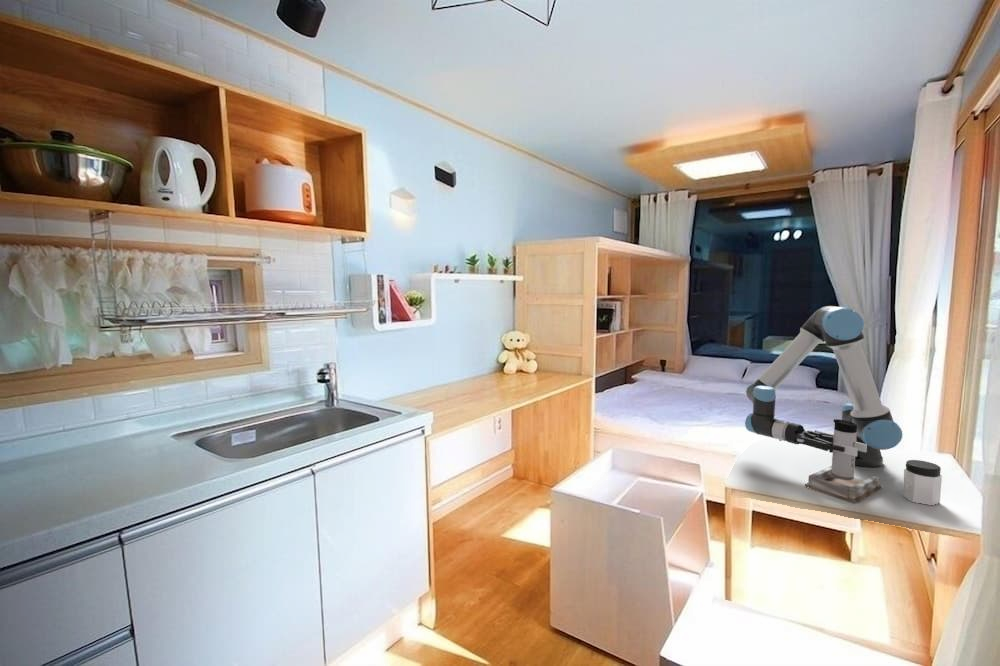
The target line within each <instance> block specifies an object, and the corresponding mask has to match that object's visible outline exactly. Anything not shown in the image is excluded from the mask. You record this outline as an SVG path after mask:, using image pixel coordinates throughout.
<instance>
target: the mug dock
mask: <svg viewBox="0 0 1000 666" xmlns="http://www.w3.org/2000/svg"><path fill="white" fill-rule="evenodd" d="M831 471H832V465H830V466H828V467H826V468H824V469H821V470H818V471H817V472H814V473H812V474H809V475H808V480H807V481H808V482H806V483H804V487H805V486H806V487H805V488H807V487H809V488H808V489H810V488H811V489H810V490H813V489H814V490H813V491H816V490H817V491H816V492H819V493H822V494H825V495H828V496H831V497H833V498H836V499H840V500H843V501H846V502H849V503H853V504H857V503H859V502H861V501H862V500H864V499H866V498H868V497H870V496H872V495H873V494H875V493H876V492H878V490H879V491H880V490H882V486H883V485H879V477H877V476H874V475H872V476H871V477H869V478H867V479H864V480H862V479H860V478H856V477H854V479H852V480H843V479H839V478H836V477H834V476H832V474H831Z"/></svg>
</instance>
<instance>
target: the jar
mask: <svg viewBox="0 0 1000 666" xmlns="http://www.w3.org/2000/svg"><path fill="white" fill-rule="evenodd" d="M942 478H943V475H942V474H941V466H940V465H938V464H936V463H933V462H930V461H924V460H920V459H909V460H907V461H906V463H905V468H904V469H903V481H902V482H903V483H902V496H903V498H905V497H906V498H905V499H907V500H909V501H910V500H911V501H910V502H912V503H914V502H916V503H915V504H919V503H922V504H921V505H924V504H928V505H927V506H929V505H933V506H936V505H939V504H940V503H941V492H942V480H943V479H942ZM938 503H939V504H938ZM935 504H936V505H935Z"/></svg>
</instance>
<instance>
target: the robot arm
mask: <svg viewBox="0 0 1000 666" xmlns="http://www.w3.org/2000/svg"><path fill="white" fill-rule="evenodd" d="M864 327H865V322H864V319H863V317H862V315H861V314H860V313H859V312H858V311H856V310H854V309H852V308H850V307H846V306H835V305H827V306H823V307H821V308H819V309H817V310H816V311H815V312H814V313H812V315H811V316H810V317H809V318H808V319H807V320H806V321H805V322H804V324H803V325H802V326H801V327H800V328H799V329H800V330H799V333H798V335H797V336H796V337H794V339H793V340H792V341H791V342H790V343H789V344H788V345H787V347H786V348H784V350H783V351H782V352H781V353H780V355H778V357H777V358H775V360H773V362H772V363H771V364H770V365H769V366H768V368H767V369H766V370H765V371H763V373H762V374H761V375H760V376H759V378H758V379H756V380H755V381H754V382H753V383H750V384H749V385H748V386H747V387H746V389H745V393H746V396H747V398H748V400H749V401H751V402H752V413H749V414H748V415H747V416H746V418H745V421H744V426H745V428H746V430H747V431H748V432H751V433H753V434H756V435H761V436H765V437H769V438H772V439H775V440H779V442H782V441H783V442H788V443H789V444H792V445H793V444H794V445H804V446H809V447H811V448H815V449H819V450H822V451H824V452H828V451H829V452H828V453H831V454H833V450H834V451H837V452H841V453H845V454H848V455H852V456H855V466H858V467H866V468H878V467H882V466H883V464H884V457H883V456H882V452H881V450H882V451H883V450H885V451H886V450H891V449H894V448H895V447H897V446H898V445H899V444H900V442H901V441H902V439H903V431H902V428H901V427H900V425H899V424H898V423H897V422H896V421H894V419H893V416H892V415H893V414H891V410H890V408H889V407H887V406H885V405H884V404H883V403H882V401H881V400H882V399H881V397H880V394H879V392H878V388H877V385H876V383H875V380H874V377H873V375H872V371H871V369H870V365H869V363H868V360H867V356H866V355H865V351H864V348H863V347H862V343H863V341H864V340H865V336H864V334H863V333H864V332H863V330H864ZM824 343H825V346H826V347H828V348H830V349H832V351H833V354H834V357H835V359H836V362H837V364H838V368H839V371H840V374H841V377H842V379H843V383H844V385H845V388H846V391H847V393H848V394H847V395H848V397H849V400H850V402H849V403H844V404H843V405H842V410H841V420H845V421H849V422H852V423H855V424H856V425H857V438H856V448H855V447H851V446H847V445H843V444H839V443H834V445H833V439H834V433H833V434H832V433H827V432H823V431H819V430H814V431H813V430H807V431H806V430H805V428H804V425H802V424H799V423H794V422H790V421H785V420H782V419H778V418H775V415H776V414H775V413H776V411H775V410H776V399H777V395H776V390H777V389H778V387H779V386H781V384H782V383H783V382H784V381H785V380H786V379H787V378H788V377H789V376H790V374H792V373H793V372H794V371H795V370H796V368H797V367H798V366H799V365H800V364H801V363H802V362H803V361H804V360H805V359H806V357H808V356H809V354H810V353H811V352H812V351H813V350H814V349H815V348H817V346H818V345H819V344H824Z"/></svg>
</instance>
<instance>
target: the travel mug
mask: <svg viewBox="0 0 1000 666" xmlns="http://www.w3.org/2000/svg"><path fill="white" fill-rule="evenodd" d="M833 423H834V427H833V435H834V439H833V445H834V443H839V444H843V445H847V446H851V447H855V448H856V438H857V425H856V424H855V423H852V422H849V421H845V420H842V419H833ZM831 466H832V471H831V474H832V476H834V477H836V478H839V479H843V480H852V479H854V478H855V469H856V468H855V467H856V465H855V456H852V455H848V454H845V453H841V452H837V451H834V450H833V453H832V456H831Z"/></svg>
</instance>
